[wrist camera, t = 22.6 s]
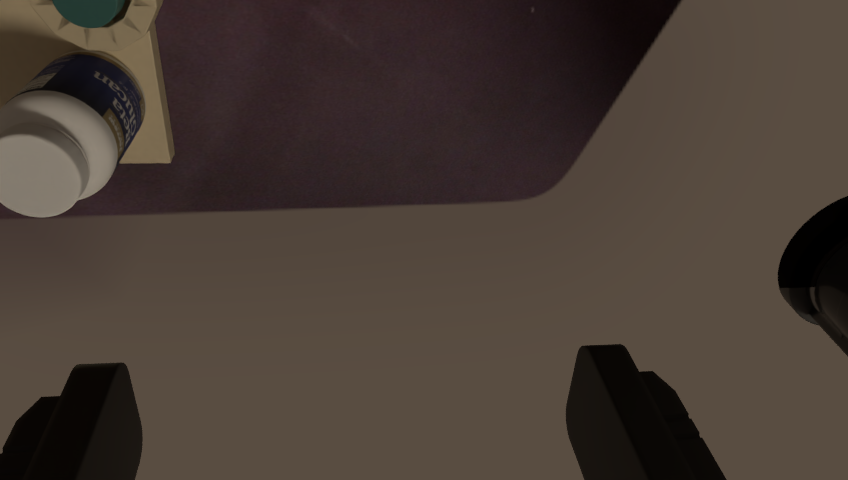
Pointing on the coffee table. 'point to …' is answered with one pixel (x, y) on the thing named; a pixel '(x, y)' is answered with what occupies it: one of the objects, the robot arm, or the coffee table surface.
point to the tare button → (89, 11)
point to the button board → (120, 38)
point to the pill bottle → (67, 132)
